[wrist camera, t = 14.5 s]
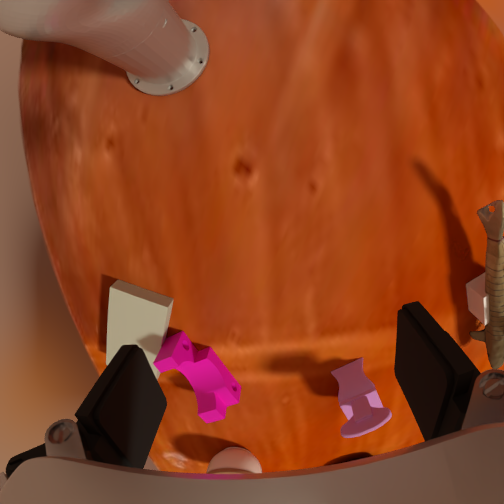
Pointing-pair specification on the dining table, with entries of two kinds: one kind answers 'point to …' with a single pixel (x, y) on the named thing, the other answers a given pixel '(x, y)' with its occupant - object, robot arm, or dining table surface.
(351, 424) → the toy chair
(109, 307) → the base slab
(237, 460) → the lidded bowl
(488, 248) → the wood carving
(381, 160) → the dining table surface
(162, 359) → the toy block
